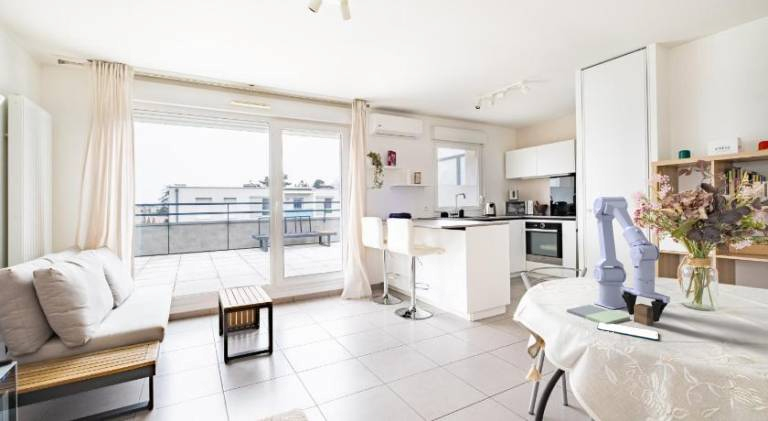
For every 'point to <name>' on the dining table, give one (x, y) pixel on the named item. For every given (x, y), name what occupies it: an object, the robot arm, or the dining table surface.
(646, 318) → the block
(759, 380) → the dining table surface
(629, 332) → the smartphone
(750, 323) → the dining table surface
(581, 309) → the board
